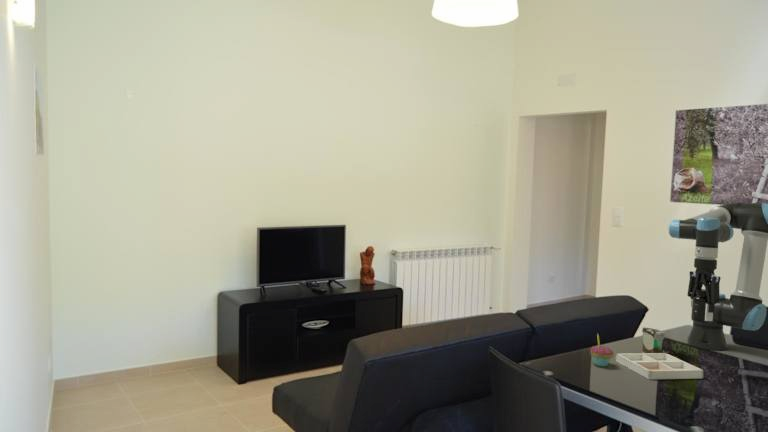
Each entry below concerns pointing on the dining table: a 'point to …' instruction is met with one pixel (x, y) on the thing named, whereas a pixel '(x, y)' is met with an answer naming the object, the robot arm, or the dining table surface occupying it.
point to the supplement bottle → (699, 306)
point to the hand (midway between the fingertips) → (701, 318)
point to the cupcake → (601, 354)
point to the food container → (652, 340)
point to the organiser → (659, 366)
